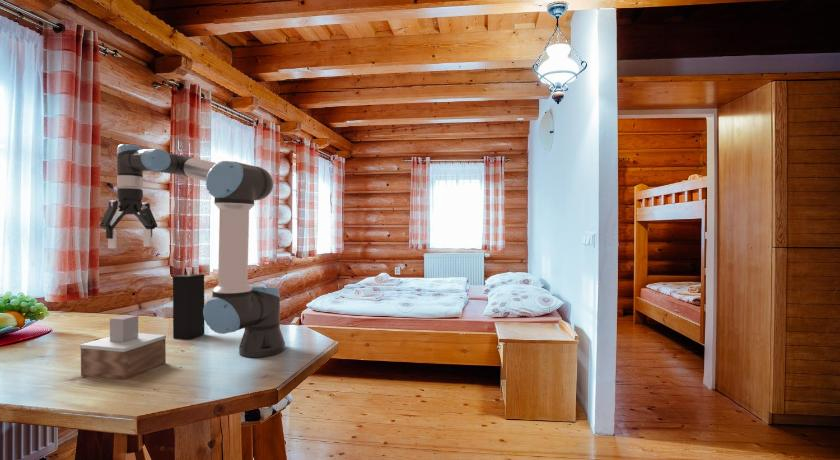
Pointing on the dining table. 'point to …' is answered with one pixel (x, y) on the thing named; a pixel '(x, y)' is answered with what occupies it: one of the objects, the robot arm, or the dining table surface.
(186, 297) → the tall black column
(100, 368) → the box
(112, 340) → the stone block
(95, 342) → the lid
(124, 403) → the dining table surface
